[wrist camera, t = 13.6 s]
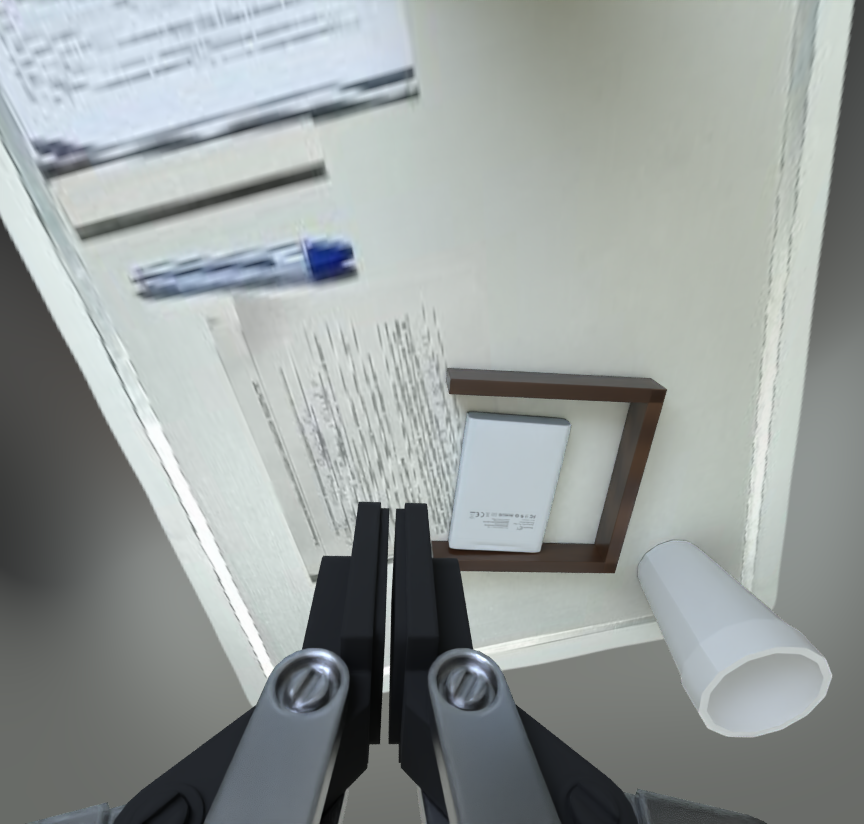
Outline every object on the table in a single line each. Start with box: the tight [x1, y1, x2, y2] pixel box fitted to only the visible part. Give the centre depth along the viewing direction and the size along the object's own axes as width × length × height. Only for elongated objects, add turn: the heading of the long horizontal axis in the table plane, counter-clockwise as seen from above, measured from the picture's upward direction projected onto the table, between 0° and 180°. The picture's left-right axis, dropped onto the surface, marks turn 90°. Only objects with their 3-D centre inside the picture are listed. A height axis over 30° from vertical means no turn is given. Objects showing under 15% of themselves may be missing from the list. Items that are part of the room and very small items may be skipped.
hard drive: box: [448, 412, 571, 553], centre depth 40 cm, size 2×8×12 cm
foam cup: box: [637, 540, 832, 737], centre depth 40 cm, size 10×9×13 cm
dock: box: [431, 368, 667, 573], centre depth 39 cm, size 17×16×2 cm
